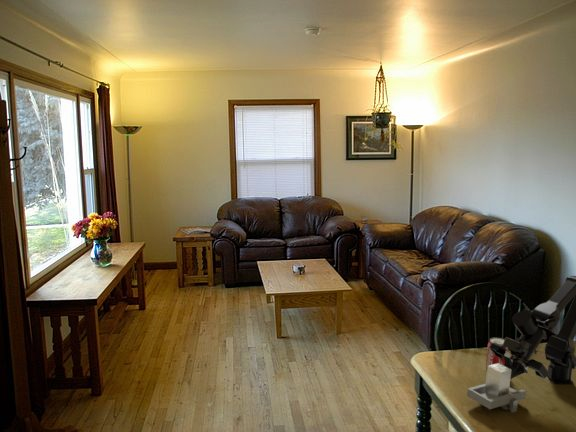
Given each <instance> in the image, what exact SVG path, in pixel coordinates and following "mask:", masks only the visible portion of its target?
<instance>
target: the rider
mask: <svg viewBox="0 0 576 432" xmlns="http://www.w3.org/2000/svg"><path fill="white" fill-rule="evenodd" d="M510 378H511V369H509V368H507V367H505V366H503V365H501V364H499V363H497V364H493V365H489V366H488V368H487V369H486V376H485V384H486V385H485V393H487V394H489V395H491V396H493V397H494V398H496V397H499V396H502V395H506V394H508V393H509V387H510V386H511V385H510V384H511V379H510Z"/></svg>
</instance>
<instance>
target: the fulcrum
mask: <svg viewBox="0 0 576 432" xmlns="http://www.w3.org/2000/svg"><path fill="white" fill-rule="evenodd" d="M518 402H519V400H517V399H512V400H511V403H509V404H506V405H502V406H499V407H500V408H502V409H504V410H506V411H510V412H511V413H512V414H513V413H515V412H517V411H518Z"/></svg>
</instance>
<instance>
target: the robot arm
mask: <svg viewBox="0 0 576 432" xmlns="http://www.w3.org/2000/svg"><path fill="white" fill-rule="evenodd" d="M571 301H572V302H571ZM569 303H571V304H570V306H569V309H568V311H567V313H566V316H565V317H564V319H563V322H562V323H561V327H560V329H559V330H558V333H556V334H555V335H550V336H549V337H548V335H547V330H553V329H554V328H555V327H556V326H557V325H558V323H559V322H560V319H561V313H562V311H563V310H564V309H565V308H566V307H567V305H568V304H569ZM511 322H512V323H513V325H514V326H515V327H516V329H517V330H518V332H519V333H520V334H521V335H520V337H519V336H518V337H515V339H512V338H510V337H507V336H505V338H504V343H503V346H502V345H500V344H498V343H495V342H494V343H491V345H490V346H489V349H490V350H491V351H492V352H493V354H494V355H495V356H497V357H499V358H501V359H503V360H504V361H505V367H507V368H509V369H511V378H510V380H512V379H514V378H515V377H518V376H520V375H523V374H528V373H529V372H528V370H529V369H531V370H533V371H534V372H535V375H536V376H537V377H538V378H542V379H544V380H545V379H547V377H548V378H549V379H550V380H551V381H552V382H553V383H554V384H563V385H564V384H566V385H567V384H574V381H573V380H572V370H574V369H576V355H575V354H574V353H575V351H576V349H575V348H576V347H575V343H574V340H575V337H576V275H568V276H567V277H566V278H565V281H564V283H563V284H562V285H561V286H560V287H559V289H558V290H556V291H555V292H554V294H553V295H552V296H551V297H550V298H549V299H548V300H547V301H546V302H542V303H540V304H539V305H537V306H536V307H535V308H534V309H532V310H530V309H529V308H524V309H523V310H520V311H517V312H515V313H513V315H512V317H511ZM542 328H544V329H546V330H544V329H542ZM547 339H548V340H547ZM543 340H547V342H546V344H545V346H544V355H545V360H547V361H549V365H548V368H546V366H545V365H544V364H543V363H542V362H540V361H538V360H536V359H533V358H532V357H533V355H537V352H538V351H537V349H538V346H539V345H540V344H541V342H542V341H543ZM504 347H507V348H508V351H507V350H506V349H505V348H504Z"/></svg>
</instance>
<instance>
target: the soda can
mask: <svg viewBox="0 0 576 432" xmlns="http://www.w3.org/2000/svg"><path fill="white" fill-rule="evenodd" d="M504 340H505V338H501V337H491V338H489V341H488V343H487V348H486V359H485V360H486V361H485V362H486V363H485V365H486V366H485V368H486V370H487V368H488V366H489V365H493V364H497V363H499V364H501V365H503V366H505V361H504V360H503V359H501V358H499V357H497V356H495V355H494V354H493V352H492V351H491V350H490V349H489V346H490V345H491V343H494V342H495V343H498V344H500V345H502V346H503V343H504ZM504 348H505V349H506V350H507V351H508V352H509V350H508V348H507V347H504Z"/></svg>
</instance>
